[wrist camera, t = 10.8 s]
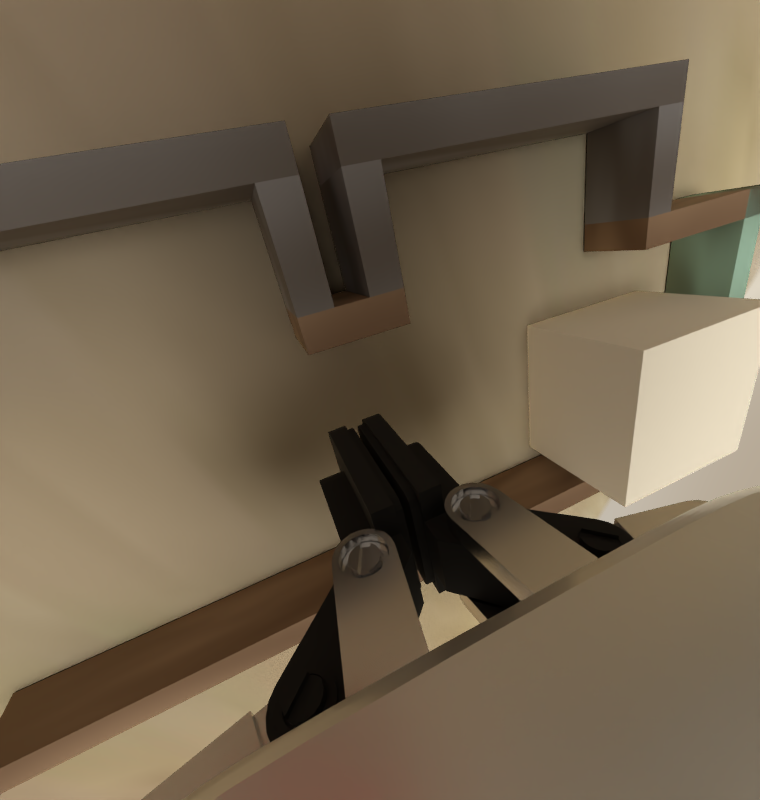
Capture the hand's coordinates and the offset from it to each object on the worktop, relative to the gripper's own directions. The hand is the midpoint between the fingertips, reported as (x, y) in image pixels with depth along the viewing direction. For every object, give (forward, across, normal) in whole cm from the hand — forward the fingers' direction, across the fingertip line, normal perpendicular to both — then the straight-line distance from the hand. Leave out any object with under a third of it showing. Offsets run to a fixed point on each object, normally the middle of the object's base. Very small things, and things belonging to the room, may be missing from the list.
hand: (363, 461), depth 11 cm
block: (+3, -11, +2) cm, 12 cm away
